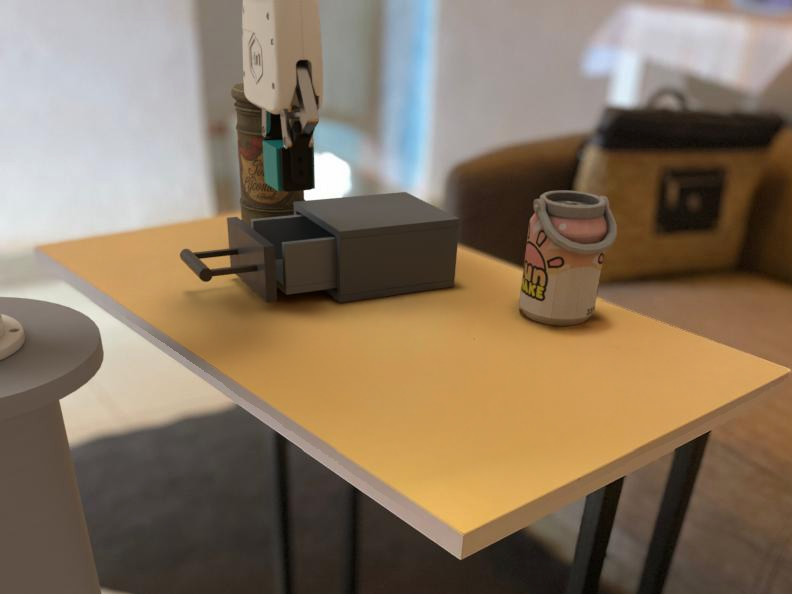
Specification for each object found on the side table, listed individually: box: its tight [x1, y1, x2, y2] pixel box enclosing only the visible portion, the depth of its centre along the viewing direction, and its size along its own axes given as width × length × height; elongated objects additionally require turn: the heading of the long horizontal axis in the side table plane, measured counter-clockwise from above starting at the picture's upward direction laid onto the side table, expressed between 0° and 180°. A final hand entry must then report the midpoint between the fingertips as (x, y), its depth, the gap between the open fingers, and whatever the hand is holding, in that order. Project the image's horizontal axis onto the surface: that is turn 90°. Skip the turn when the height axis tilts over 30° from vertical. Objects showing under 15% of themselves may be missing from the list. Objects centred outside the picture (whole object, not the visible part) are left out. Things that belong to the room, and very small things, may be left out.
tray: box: [179, 214, 337, 304], centre depth 91 cm, size 20×11×6 cm, turn 118°
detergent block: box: [263, 140, 316, 192], centre depth 85 cm, size 4×4×4 cm
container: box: [230, 82, 306, 227], centre depth 101 cm, size 9×9×18 cm
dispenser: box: [293, 191, 461, 303], centre depth 96 cm, size 15×13×8 cm
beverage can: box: [518, 189, 618, 327], centre depth 87 cm, size 9×8×12 cm
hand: (289, 182), depth 86 cm, fingers closed on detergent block, 4 cm apart
